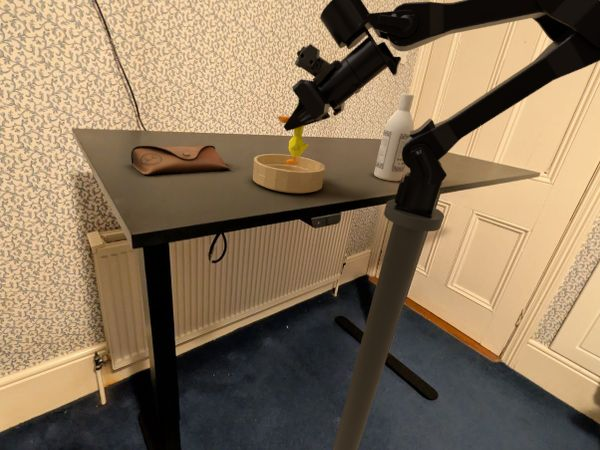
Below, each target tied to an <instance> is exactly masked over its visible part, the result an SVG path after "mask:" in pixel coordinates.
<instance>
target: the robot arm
mask: <svg viewBox="0 0 600 450" xmlns="http://www.w3.org/2000/svg"><path fill="white" fill-rule="evenodd" d="M319 19H320V21H321V22H322V24H323V25H324V27H325V28H326V30H327V32H328V33H329V34H330V36H331V37H332V39H333V40H334V42H335V44H336V45H337V46H338V48H339V49H343V48H345V47H346V49H347V50H351V49H353V48H354V49H353V50H352V51H350V52H349V53H348V54H347V55H346V56H345V57H343V58H342V59H341V60H339V59H335V60H333V61H332V62H329V61H328V60H326V59H325V58H323V57H322V56H320V53H321V50H320V49H319V48H318V47H315V46H314V45H313V44H311V43H310V44H308V45H307V46H304V45H303V46H302V47H301V48H300V50H297V52H296V56H297V58H296V60H295V62H294V65H295V66H296V67H297V68H299V69H300V68H301V69H303V70H304V71H306V72H307V73H308V74H310V75H311V76H313V78H312V80H308V79H299V80H298V81H297V82H295V84H294V85H293V86H292V87H291V89H292V91H293V93H294V94H295V95H296V97H297V99H298V100H299V103H297V104H298V106H297V105H296V106H297V107H296V106H295V107H296V109H295V108H294V110H293V112H292V113H291V115H289V117H290V118H289V119H288V121H287V122H286V123H284V125H283V129H284V130H285V131H286V132H289V131H292V130H293V131H294V129H295V128H298V127H301V126H304V127H305V126H308V125H312V124H315V123H318V122H322V121H324V120H328V119H330V118H331V115H330V112H329V111H330V108H331V109H332V111H333V112H332V115H333V116H334V117H335V116H338V115H339V114H341V113H342V112H343V111H344V110H345V107H346V102H347V101H348V100H349V99H350V98H351V97H353V96H354V95H358V94H359V93H360V92H361V91H362V89H363V88H364V87H365V86H366V85H368V84H369V83H370V82H372V81H373V79H375V78H377V76H378V75H380V74H381V73H383V72H384V71H385V70H387V69H388V70H389V71H390V73H391V75H392V76H394V77H396V76H397V75H398V71H399V66H400V63H401V61H402V57H401V56H394V54H393V53H392V51H391V50H390V48H389V47H388V45H387V44H386V42H385V41H382V42H380V43H377V42H376V40H375V38H374V37H373V36H372V34H371V33H370V31H369V30H371V29H372V30H373V32H374V33H375V35H376V36H377V38H379V39H383V40H386V41H388V42H389V44H390V46H391V47H392V48H393V49H395V50H396V51H398V52H409V51H411V50H414V49H417V48H420V47H422V46H425V45H427V44H430V43H432V42H435V41H436V40H439V39H441V38H444V37H446V36H449V35H453V34H457V33H458V34H459V33H463V32H469V31H473V30H478V29H482V28H488V27H493V26H499V25H503V24H507V23H508V24H509V23H514V22H518V21H523V20H528V19H532V20H534V21H535V22H536V23H537V24H538V26H539V27H540V28H541V30H542V31H543V33H545V35H546V37H548V39H549V40H551V43H550V44H549V45H547V47H546V48H545V49H544V50H543V51H542V52H541V53H540V54H539V55H538V56H537V57H536V58H535V59H534V60H533V61H532V62H530V63H529V64H527V65H526V66H524V67H523V68H521V69H520V70H518V71H517V72H515V73H514V74H512V75H511V76H510V77H508V78H507V79H504V80H503V81H502V82H500V83H499V84H498V85H496V86H494V87H493V88H491V89H490V90H489V91H487V92H486V93H484V94H482V95H481V96H479V97H478V98H476V99H475V100H473V101H472V102H471V103H469V104H467V105H466V106H464V107H463V108H461V109H460V110H458V111H457V112H456V113H454V114H453V115H450V116H449V117H448V118H446V119H444V120H442V121H439V122H437V123H435V122H434V120H433V119H432V118H428V119H427V120H426V121H424V123H423V124H422V125H421V126H419V127H418V128H416V129H414V130H413V131H410V136H409V137H408V138H407V139H406V140H405V142H404V144H403V148H402V159H403V162H404V164H405V166H406V167H407V168H408V169H409V172H408V171H407V173H405V175H404V178H403V179H401V180H400V181H399V184H398V187H397V191H396V195H395V198H394V199H395V203H396V205H395V209H397V210H401V211H405V212H408V213H412V214H416V215H419V216H423V217H427V218H432V215H433V212H434V209H435V208H436V207H435V206H436V203H437V200H438V197H439V194H440V191H441V187H442V185H443V181H444V180H445V179H446V177H447V172H446V171H445V169H444V166H443V164H442V163H441V161H440V160H441V159H442V158H443V157H445V155H447V154H448V153H449V152H450V151H451V150H452V148H453V147H454V146H455V145H456V144H457V143H458V142H459V141H460V140H462V139H463V138H464V137H466V136H468V135H469V134H471V133H472V132H474V131H476V130H477V129H478V128H480V127H482V126H484V125H485V124H486V123H488V122H490V121H491V120H493V119H494V118H496V117H497V116H499V115H501V114H502V113H504V112H505V111H507V110H509V109H510V108H512V107H513V106H515V105H516V104H518V103H520V102H522V101H523V100H524V99H526V98H528V97H530V96H531V95H533V94H534V93H536V92H537V91H539V90H540V89H542V88H544V87H545V86H547V85H548V84H551V82H553V81H555V80H558V79H560V78H562V77H565V76H567V75H570V74H572V73H574V72H578V71H580V70H582V69H585V68H587V67H590V66H591V65H593V64H595V63H598V62H600V0H458V1H454V2H437V1H412V2H403V3H401V4H399V5H397V6H396V7H395V8H394V9H393V10H390V11H389V10H388V11H380V12H379V11H378V12H370V11H369V10H368V8H367V7H366V5H365V4H364V2H363V0H330V1H329V2H328V3H327V4H326V6H325V7H324V8H323V10H322V11H321V14H320V16H319ZM366 36H367V37H366ZM364 38H365V39H364ZM363 39H364V40H363Z"/></svg>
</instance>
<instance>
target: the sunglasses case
mask: <svg viewBox="0 0 600 450" xmlns="http://www.w3.org/2000/svg"><path fill="white" fill-rule="evenodd" d="M130 161H131V166H132V167H133V168H134V169H135V170H136V171H137V172H138V173H140V174H142V175H145V176H146V175H147V176H149V175H156V174H179V173H205V172H216V171H222V170H228V169H230V167H229V166H227V165H226V163H225V162H224V160H223V158H222V157H221V156H220V154H219V153H218V151H217V150H216V147H215V146H214V145H209V144H208V145H202V146H193V145H192V146H189V145H182V146H180V145H179V146H177V145H173V146H157V145H138V146H135V147H133V148H132V150H131V152H130Z"/></svg>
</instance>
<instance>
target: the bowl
mask: <svg viewBox="0 0 600 450" xmlns="http://www.w3.org/2000/svg"><path fill="white" fill-rule="evenodd" d="M289 159H293V156H291V154H283V153H282V154H281V153H266V154H259V155H256V156H254V157H253V163H252V164H253V165H252V175H251V176H252V181H253V182H254V183H256V185H259V186H261V187H263V188H265V189H268V190H271V191H275V192H279V193H285V194H307V193H314V192H318V191H319V190H321V189H322V188H323V184H324V178H325V172H326V166H325V164H323V163H322V162H319V161H317V160H314V159H311V158H307V157H303V156H300V157H296V161H297V164H296V165H293V164H287V163H286V161H287V160H289Z"/></svg>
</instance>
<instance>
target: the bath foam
mask: <svg viewBox="0 0 600 450" xmlns="http://www.w3.org/2000/svg"><path fill="white" fill-rule="evenodd" d="M414 97H415V96H414V94H410V93H401V94H400V97H399V100H398V105H397V110H395V112H394V113H393V114H392V115H391V116H389V118H388V120H387V121H386V123H385V125H384V128H383V132H382V136H381V140H380V141H381V142H380V145H379V149H378V154H377V158H376V163H375V167H374V172H373V175H374V177H375V178H377V179H380V180H384V181H388V182H401V181H402V178H403V174H404V171H405V168H406V167H405V166H406V165H405V164H404V162H403V159H402V148H403V144H404V142H405V140H406V139H407V138H408V137H409V136H410V131H413V130H415V124H414V119H413V117H412V114H411V109H412V106H413V101H414Z"/></svg>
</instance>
